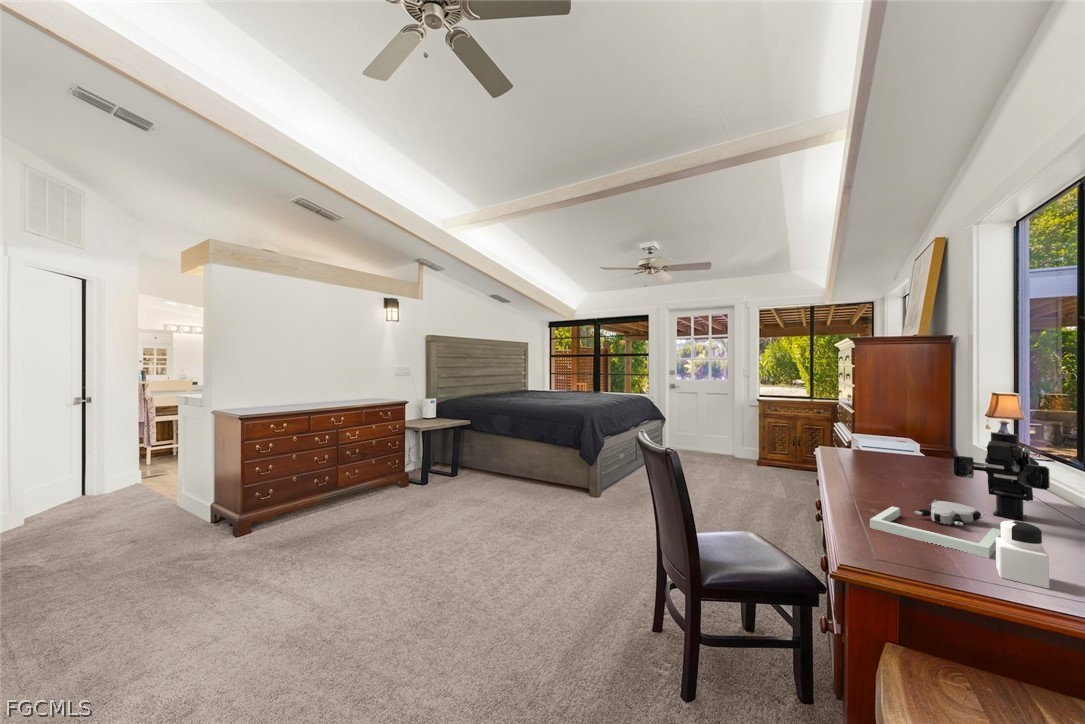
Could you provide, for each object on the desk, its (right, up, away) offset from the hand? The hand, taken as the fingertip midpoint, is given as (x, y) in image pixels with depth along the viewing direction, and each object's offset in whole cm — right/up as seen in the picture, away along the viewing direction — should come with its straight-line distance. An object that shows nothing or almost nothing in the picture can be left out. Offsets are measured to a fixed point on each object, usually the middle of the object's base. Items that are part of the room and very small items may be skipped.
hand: (993, 475), depth 116 cm
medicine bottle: (-20, -16, -24) cm, 35 cm away
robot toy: (-2, -17, +10) cm, 20 cm away
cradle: (-16, -17, +1) cm, 23 cm away
